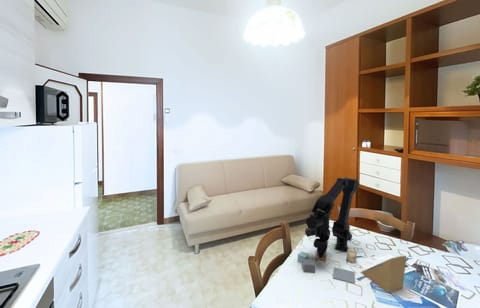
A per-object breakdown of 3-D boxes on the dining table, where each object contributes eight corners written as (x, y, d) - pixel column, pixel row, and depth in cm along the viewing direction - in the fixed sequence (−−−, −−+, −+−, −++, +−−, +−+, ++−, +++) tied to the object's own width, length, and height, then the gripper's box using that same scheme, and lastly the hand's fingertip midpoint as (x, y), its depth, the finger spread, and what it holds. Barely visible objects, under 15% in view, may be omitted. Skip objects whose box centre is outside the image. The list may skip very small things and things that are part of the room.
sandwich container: (373, 269, 119) (376, 239, 118) (403, 289, 105) (406, 255, 103) (359, 272, 117) (361, 241, 115) (387, 293, 102) (391, 258, 100)
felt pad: (334, 267, 119) (334, 267, 119) (354, 272, 116) (354, 271, 116) (332, 278, 111) (332, 277, 111) (354, 283, 108) (354, 283, 108)
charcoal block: (301, 266, 121) (302, 258, 120) (312, 267, 120) (312, 259, 120) (303, 272, 116) (304, 264, 115) (314, 273, 115) (315, 265, 115)
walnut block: (317, 256, 130) (317, 247, 129) (326, 258, 128) (326, 249, 128) (315, 260, 126) (316, 251, 125) (325, 262, 124) (325, 253, 123)
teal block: (301, 258, 128) (301, 251, 127) (308, 261, 125) (308, 253, 125) (297, 261, 125) (297, 254, 124) (305, 264, 122) (305, 257, 122)
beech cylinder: (346, 257, 129) (347, 248, 128) (355, 259, 127) (356, 250, 126) (346, 262, 125) (347, 252, 124) (356, 264, 123) (356, 254, 122)
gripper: (309, 215, 137) (308, 242, 138) (303, 228, 120) (302, 258, 122) (331, 218, 132) (329, 246, 134) (327, 232, 115) (326, 264, 117)
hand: (321, 253), depth 127 cm, fingers open, 9 cm apart
